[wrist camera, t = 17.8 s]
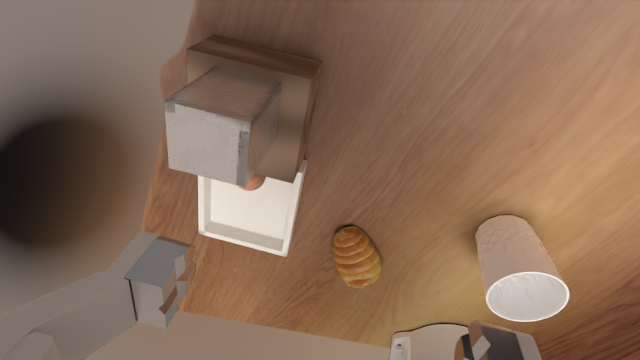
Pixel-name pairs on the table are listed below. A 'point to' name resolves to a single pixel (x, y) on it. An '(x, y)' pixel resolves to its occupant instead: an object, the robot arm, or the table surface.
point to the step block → (294, 100)
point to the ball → (254, 182)
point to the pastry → (355, 257)
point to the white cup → (518, 271)
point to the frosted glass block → (222, 125)
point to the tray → (251, 212)
